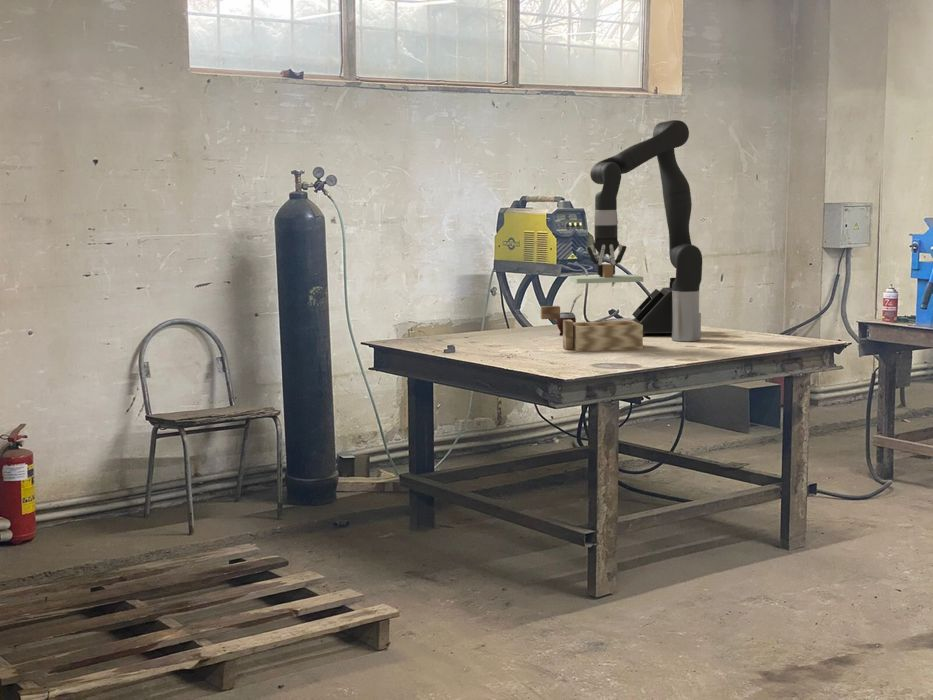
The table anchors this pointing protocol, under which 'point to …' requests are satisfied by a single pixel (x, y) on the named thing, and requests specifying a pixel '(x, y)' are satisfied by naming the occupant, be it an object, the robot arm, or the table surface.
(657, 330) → the voltmeter
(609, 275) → the lid
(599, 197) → the robot arm
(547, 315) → the wooden block
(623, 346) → the toolbox
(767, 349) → the table surface
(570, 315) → the mate gourd
